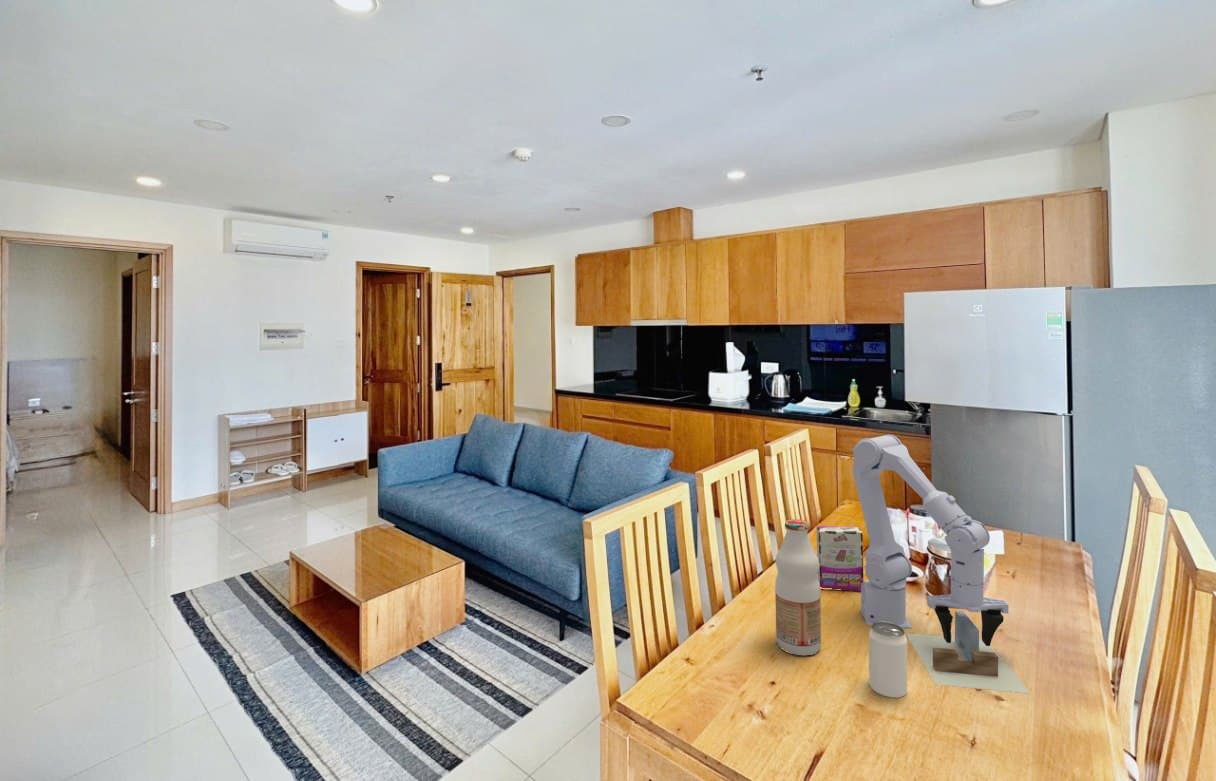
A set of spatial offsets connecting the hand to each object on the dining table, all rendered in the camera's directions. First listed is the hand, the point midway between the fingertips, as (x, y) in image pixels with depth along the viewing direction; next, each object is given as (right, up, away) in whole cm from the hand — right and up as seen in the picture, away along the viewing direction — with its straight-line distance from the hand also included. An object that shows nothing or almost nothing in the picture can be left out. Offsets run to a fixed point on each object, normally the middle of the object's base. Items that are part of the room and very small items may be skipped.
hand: (966, 642), depth 115 cm
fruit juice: (-34, -4, +6) cm, 34 cm away
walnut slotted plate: (-5, -3, -6) cm, 8 cm away
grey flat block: (0, -2, 0) cm, 2 cm away
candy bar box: (-12, -1, +33) cm, 36 cm away
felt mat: (-3, -3, -3) cm, 5 cm away
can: (-22, -4, -10) cm, 25 cm away
